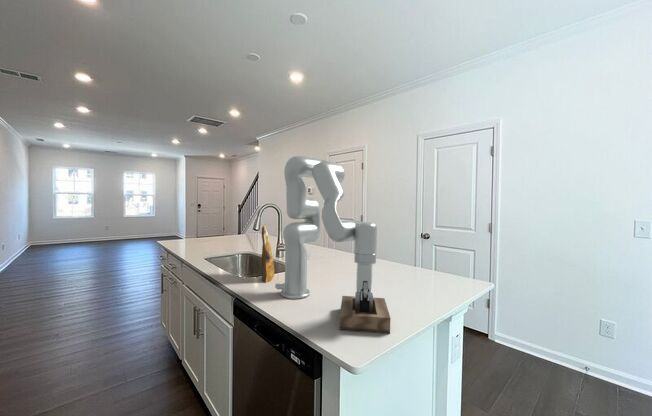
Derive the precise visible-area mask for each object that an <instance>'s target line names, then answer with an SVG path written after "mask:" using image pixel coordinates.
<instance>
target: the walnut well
mask: <svg viewBox="0 0 652 416" xmlns="http://www.w3.org/2000/svg"><path fill="white" fill-rule="evenodd" d="M339 310H340V311H339V331H345V332H346V331H348V332H349V331H350V332H362V333H374V334H376V333H377V334H378V333H379V334H389V335H390V334H391V315H390V312H389V309H388V305H387V302H386V298H385V297H373V314H358V313H355V296H353V295H342V296H341V304H340V309H339Z"/></svg>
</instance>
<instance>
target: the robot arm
mask: <svg viewBox="0 0 652 416" xmlns="http://www.w3.org/2000/svg"><path fill="white" fill-rule="evenodd" d="M283 170H284V171H283V173H284V181H285V187H286V188H285V190H286V194H285V195H286V214H287V216H288V218H290V219H293V220H304V221H296V222H290V223H288V224H287V225H286V226H285V227H284V228H283V231H282V234H283V235H282V237H283V240H284V242H283V243H284V253H285V254H284V282H283V283H275V286H274V288H275V289H276V290H281V292H280V296H282V297H283V298H286V299H290V300H291V299H292V300H294V299H295V300H298V299H304V298H307V297H309V296H310V295H311V291H310V289H308V288H307V285H308V284H307V276H308V275H307V274H308V271H307V270H308V269H307V268H308V254H307V250H306V248H305V245H304V244H310V243H315V242H317V241H318V240H319V238H320V236H321V220H322V224H323V226H324V229H325V232H326V233H327V235H328V237H329V238H330V239H331V240H332V241H333V242H335V243H344V242H353V241H354V261H353V262H354V263H356V279H355V280H356V282H355V283H356V284H355V285H356V287H355V288H356V291H355V292H361V300H360V312H369V307H370V300H369V293H372V287H373V286H372V284H373V266H374V265H375V264H377V246H378V245H377V244H378V243H377V242H378V240H377V238H378V237H377V236H378V227H377V224H376V223H375V222H368V221H367V222H363V221H359V220H354V219H353V220H352V219H349V220H341V219H340V217H339V214H338V212H337V203H338V202H340V201H341V200H342V199H343V198H344V197H345V192H344V190H343V187H342V185H341V183H342V182H343V181H344V179H345V175H346V174H345V170H344V168H343V166H341V165H340V164H339V163H334V162H331V161H327V160H324V159H320V158H314V157H309V156H303V155H295V156H292V157H290V158H289V159H288V160H287V162H286V163H285V166H284V169H283ZM302 178H313V179H314V180H313V181H314V182H315V184H316V186H317V189H318V191H319V193H320V196H321V199H322V201H323V203H322V204H323V205H322V207H321V206H320V203H319V202H318V201H317V199H315V198H313V197H307V188H306V184H305V182H304V180H303V179H302ZM362 294H363V295H362Z"/></svg>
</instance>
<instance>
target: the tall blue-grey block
mask: <svg viewBox="0 0 652 416" xmlns="http://www.w3.org/2000/svg"><path fill="white" fill-rule="evenodd" d="M354 295H355V313H358V314H373V298H374V295H373V292H371V293H369V300H370V307H369V312H360V300H361V292H357V291H355V294H354ZM362 295H363V294H362Z"/></svg>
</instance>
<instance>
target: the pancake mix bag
mask: <svg viewBox="0 0 652 416" xmlns="http://www.w3.org/2000/svg"><path fill="white" fill-rule="evenodd" d="M266 225H267V224H266V223H265V224H264V225H263V226H262V227H261V239H262V247H261V248H262V249H261V260H260V261H261V267H260V268H261V282H263V283H267V282H271V281H272V280H273V278H274V276H275V265H274V258H273V257H274V256H273V251H272V245H271V241H270V236H269V233H268V230H267V227H266Z"/></svg>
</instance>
